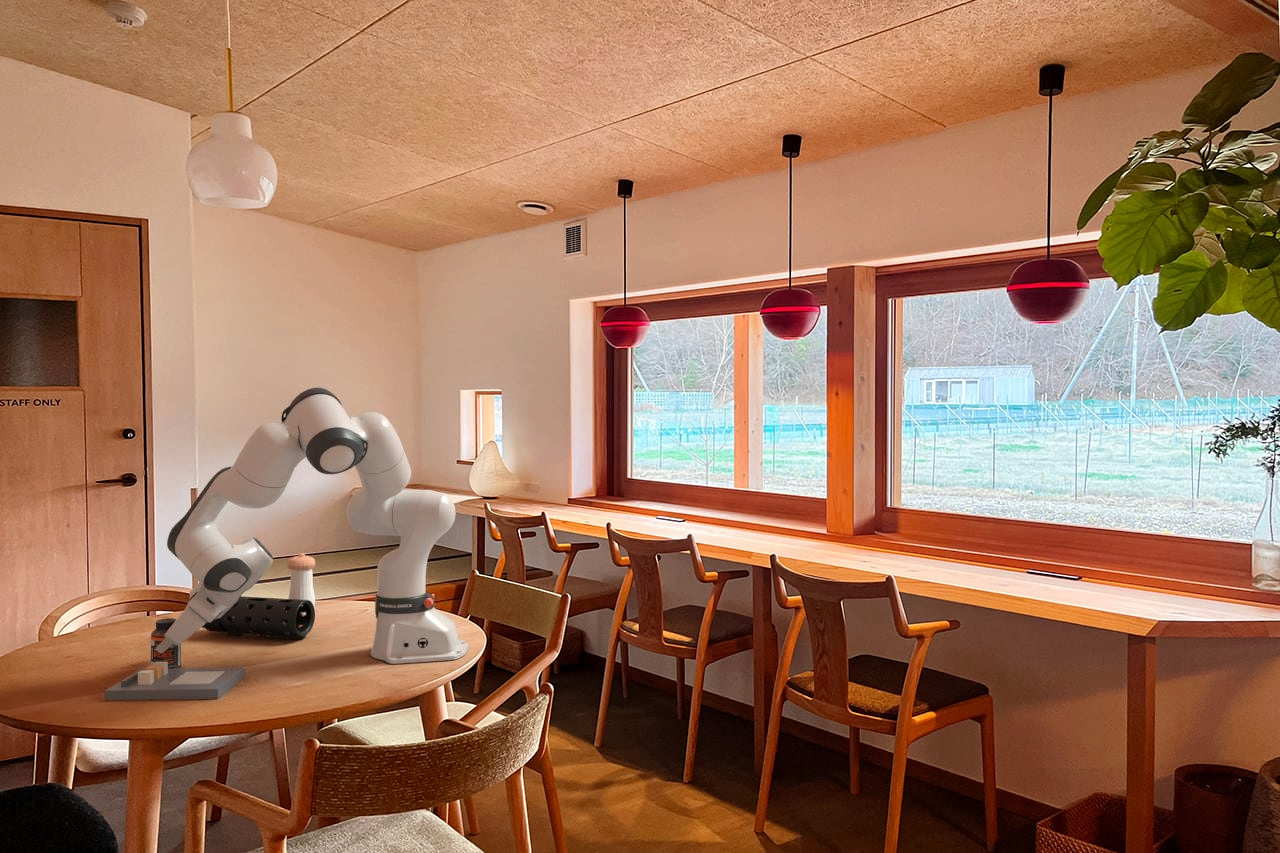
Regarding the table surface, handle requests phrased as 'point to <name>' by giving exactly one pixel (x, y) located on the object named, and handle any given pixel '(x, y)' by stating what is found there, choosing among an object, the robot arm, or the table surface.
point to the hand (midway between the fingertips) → (162, 646)
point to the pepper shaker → (302, 579)
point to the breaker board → (175, 683)
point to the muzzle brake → (266, 618)
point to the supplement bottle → (171, 653)
